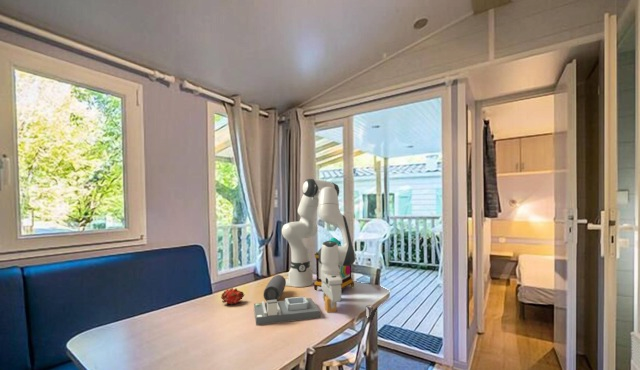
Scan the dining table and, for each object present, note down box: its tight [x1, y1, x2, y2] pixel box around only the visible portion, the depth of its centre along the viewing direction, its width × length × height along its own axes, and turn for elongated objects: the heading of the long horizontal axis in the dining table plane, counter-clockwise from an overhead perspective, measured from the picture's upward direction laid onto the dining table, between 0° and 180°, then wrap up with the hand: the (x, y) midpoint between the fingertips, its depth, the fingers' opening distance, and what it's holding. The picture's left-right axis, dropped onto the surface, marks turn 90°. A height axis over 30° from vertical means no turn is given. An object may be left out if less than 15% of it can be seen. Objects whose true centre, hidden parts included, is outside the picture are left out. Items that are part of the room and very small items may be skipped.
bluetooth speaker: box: [263, 274, 286, 302], centre depth 162 cm, size 23×9×10 cm, turn 179°
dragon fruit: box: [220, 287, 245, 305], centre depth 154 cm, size 8×8×12 cm
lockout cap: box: [324, 296, 338, 313], centre depth 143 cm, size 4×4×6 cm
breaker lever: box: [266, 299, 278, 316], centre depth 131 cm, size 3×4×6 cm
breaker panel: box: [253, 296, 321, 326], centre depth 139 cm, size 18×28×6 cm, turn 105°
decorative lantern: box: [313, 237, 355, 291], centre depth 177 cm, size 20×20×30 cm
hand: (330, 305), depth 143 cm, fingers closed on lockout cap, 4 cm apart
